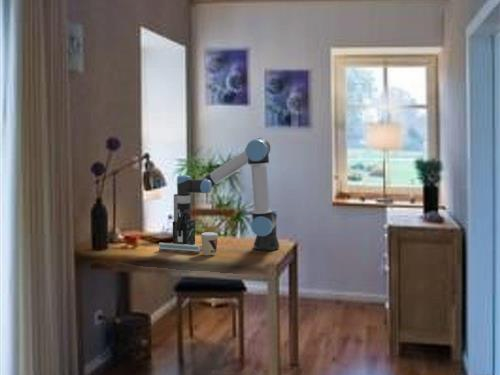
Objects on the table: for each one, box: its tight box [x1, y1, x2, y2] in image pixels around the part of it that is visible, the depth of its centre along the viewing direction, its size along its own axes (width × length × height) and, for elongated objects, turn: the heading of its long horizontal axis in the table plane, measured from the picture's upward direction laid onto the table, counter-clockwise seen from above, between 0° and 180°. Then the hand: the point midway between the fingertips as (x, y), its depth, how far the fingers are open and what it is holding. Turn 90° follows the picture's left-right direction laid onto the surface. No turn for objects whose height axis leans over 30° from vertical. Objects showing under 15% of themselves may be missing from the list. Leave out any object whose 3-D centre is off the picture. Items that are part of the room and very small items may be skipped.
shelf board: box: [158, 245, 202, 254], centre depth 382 cm, size 24×14×2 cm, turn 75°
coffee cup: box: [200, 231, 219, 256], centre depth 371 cm, size 9×9×12 cm
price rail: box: [158, 242, 200, 251], centre depth 376 cm, size 24×1×3 cm, turn 75°
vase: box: [173, 193, 191, 222], centre depth 415 cm, size 10×10×27 cm
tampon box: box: [172, 218, 196, 245], centre depth 383 cm, size 11×9×15 cm
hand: (184, 239), depth 383 cm, fingers closed on tampon box, 12 cm apart
